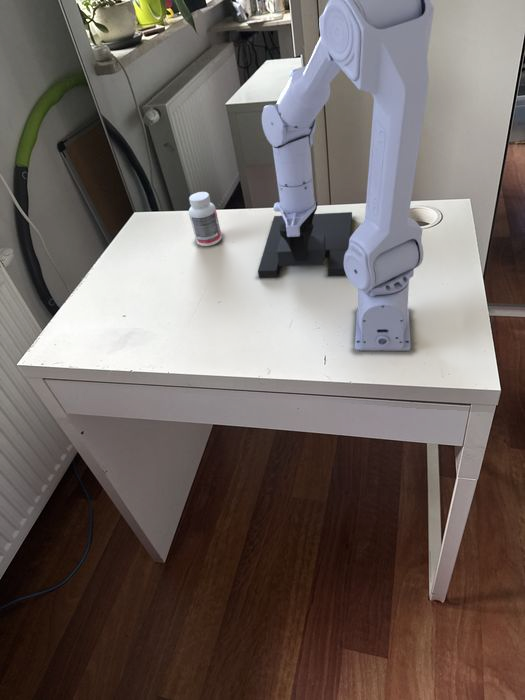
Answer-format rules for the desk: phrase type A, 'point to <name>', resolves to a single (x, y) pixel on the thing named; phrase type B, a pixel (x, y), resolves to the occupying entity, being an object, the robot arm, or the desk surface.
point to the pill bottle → (204, 219)
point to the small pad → (313, 258)
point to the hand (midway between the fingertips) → (302, 251)
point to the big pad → (324, 224)
